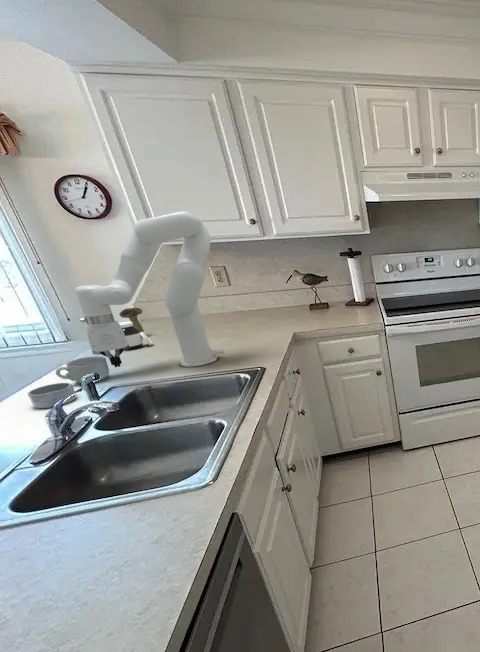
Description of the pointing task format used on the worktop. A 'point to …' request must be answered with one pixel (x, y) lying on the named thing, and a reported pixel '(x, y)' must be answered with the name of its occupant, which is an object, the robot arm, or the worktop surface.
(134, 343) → the spread jar
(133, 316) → the mushroom
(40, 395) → the grey bowl
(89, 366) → the teacup
